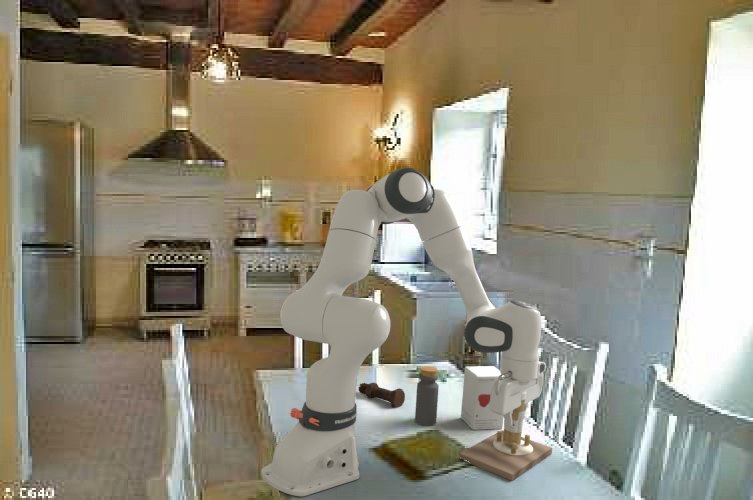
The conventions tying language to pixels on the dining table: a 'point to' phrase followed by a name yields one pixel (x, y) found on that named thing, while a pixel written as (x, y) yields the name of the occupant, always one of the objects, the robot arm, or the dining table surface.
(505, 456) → the pin board
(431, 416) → the bottle
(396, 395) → the bolt
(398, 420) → the dining table surface
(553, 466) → the dining table surface
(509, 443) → the sprinkles bottle
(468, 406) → the supplement box
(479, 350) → the robot arm
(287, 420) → the dining table surface
